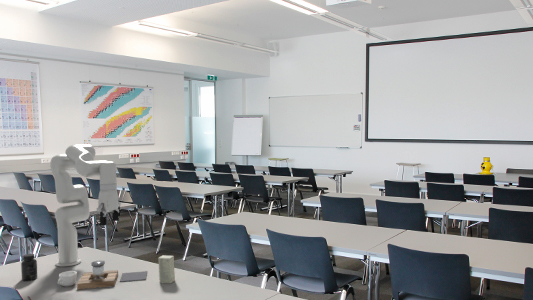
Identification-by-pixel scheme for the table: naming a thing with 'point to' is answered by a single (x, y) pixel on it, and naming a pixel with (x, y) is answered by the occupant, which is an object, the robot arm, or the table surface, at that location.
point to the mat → (133, 276)
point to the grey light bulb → (98, 269)
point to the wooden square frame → (97, 280)
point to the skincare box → (166, 269)
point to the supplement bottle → (29, 267)
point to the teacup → (67, 278)
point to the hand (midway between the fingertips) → (109, 222)
